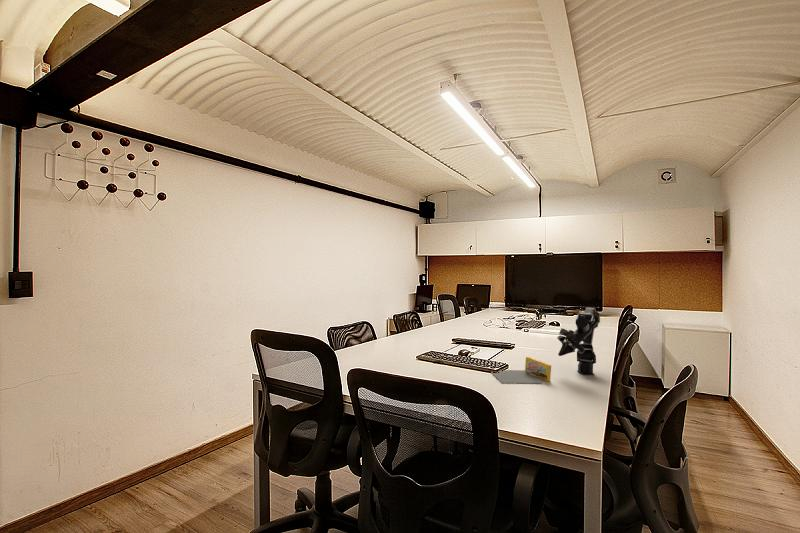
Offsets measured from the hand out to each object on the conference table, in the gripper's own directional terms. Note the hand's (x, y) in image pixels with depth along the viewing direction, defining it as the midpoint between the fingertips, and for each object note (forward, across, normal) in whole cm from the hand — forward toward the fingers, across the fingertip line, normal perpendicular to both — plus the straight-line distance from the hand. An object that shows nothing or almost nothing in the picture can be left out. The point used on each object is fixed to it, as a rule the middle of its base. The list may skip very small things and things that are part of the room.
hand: (558, 355), depth 200 cm
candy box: (+16, 0, 0) cm, 16 cm away
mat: (+24, -1, -8) cm, 26 cm away
